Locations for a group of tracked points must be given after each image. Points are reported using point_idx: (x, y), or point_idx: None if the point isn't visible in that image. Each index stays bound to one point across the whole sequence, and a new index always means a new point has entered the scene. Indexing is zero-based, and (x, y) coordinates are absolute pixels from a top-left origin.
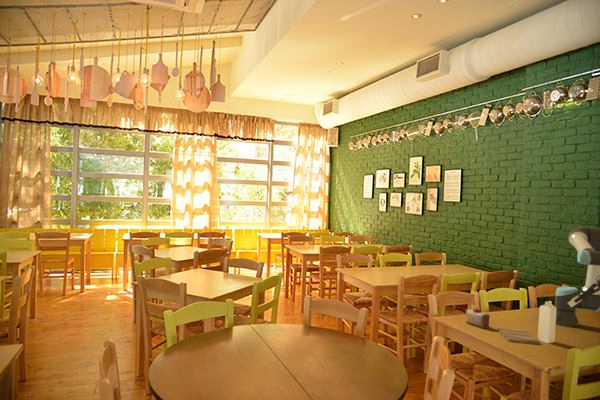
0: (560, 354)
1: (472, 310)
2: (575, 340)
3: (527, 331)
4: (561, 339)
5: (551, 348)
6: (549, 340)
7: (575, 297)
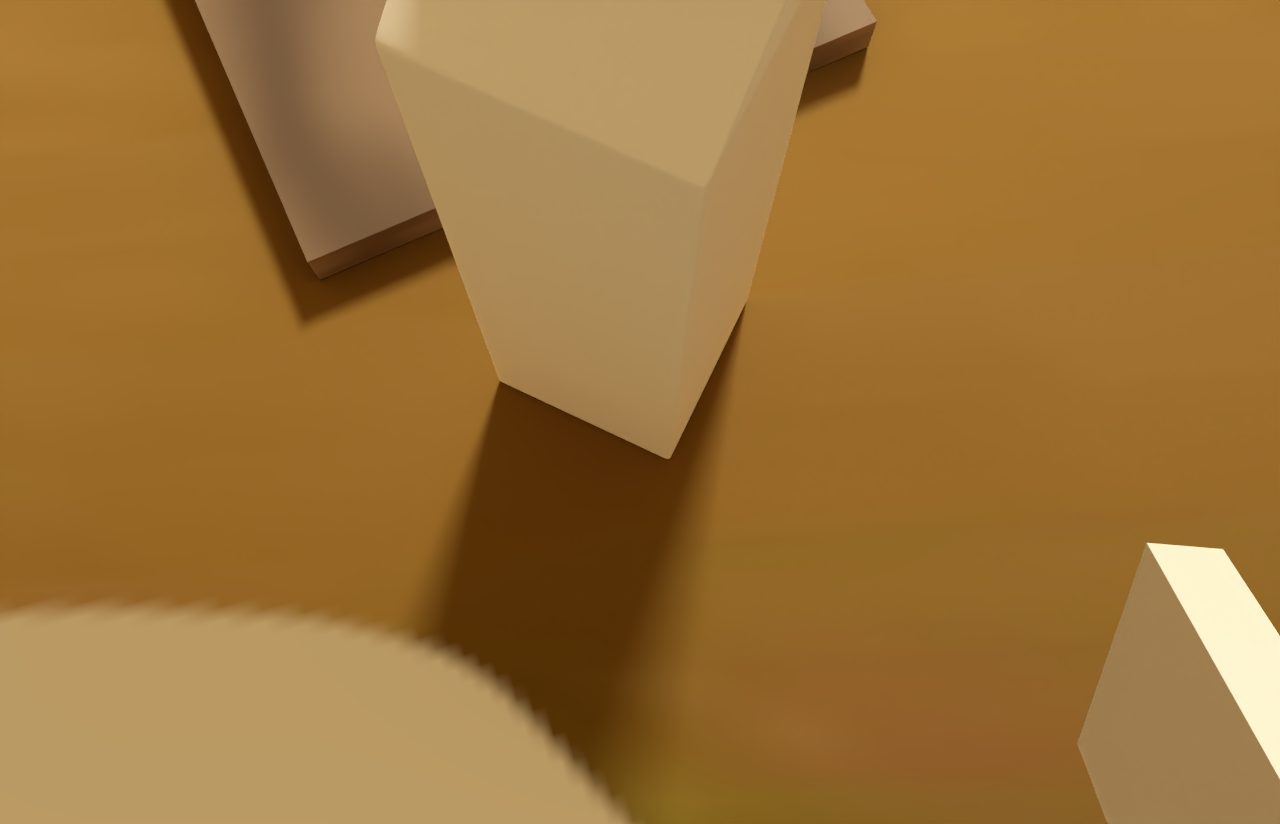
0: None
1: None
2: None
3: (824, 35)
4: (960, 549)
5: (229, 452)
6: (525, 382)
7: (1222, 735)
